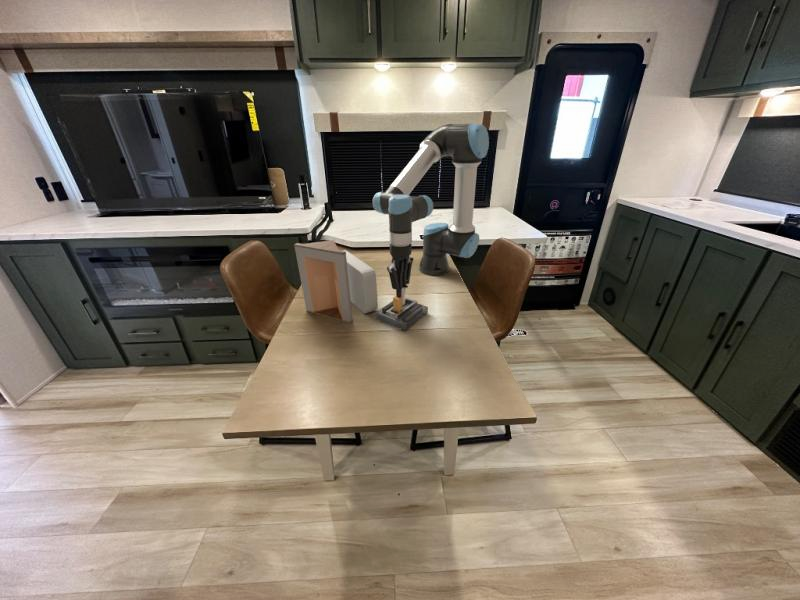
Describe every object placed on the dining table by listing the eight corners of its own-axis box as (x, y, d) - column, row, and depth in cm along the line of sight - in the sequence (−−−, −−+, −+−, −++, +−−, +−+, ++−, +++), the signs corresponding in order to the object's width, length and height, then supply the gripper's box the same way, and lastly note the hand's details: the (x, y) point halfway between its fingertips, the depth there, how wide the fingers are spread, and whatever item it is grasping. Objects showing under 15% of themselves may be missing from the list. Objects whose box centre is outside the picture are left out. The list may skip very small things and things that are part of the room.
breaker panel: (399, 303, 130) (398, 293, 127) (427, 313, 122) (428, 303, 120) (375, 319, 119) (375, 309, 117) (405, 331, 112) (405, 320, 110)
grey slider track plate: (399, 299, 126) (399, 296, 125) (424, 308, 120) (424, 305, 119) (382, 311, 118) (382, 308, 118) (407, 321, 112) (407, 318, 111)
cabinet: (306, 311, 125) (294, 244, 111) (321, 300, 132) (311, 236, 119) (350, 323, 117) (343, 252, 103) (363, 311, 124) (358, 244, 111)
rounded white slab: (383, 310, 125) (381, 269, 116) (366, 316, 121) (363, 273, 112) (351, 284, 146) (348, 247, 137) (336, 288, 142) (331, 250, 133)
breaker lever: (397, 309, 119) (397, 294, 116) (403, 311, 118) (403, 297, 115) (392, 313, 117) (392, 298, 114) (398, 315, 116) (398, 300, 112)
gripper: (402, 236, 112) (403, 294, 124) (379, 246, 103) (382, 307, 115) (420, 240, 108) (418, 299, 120) (397, 250, 99) (398, 313, 111)
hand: (400, 303), depth 117 cm, fingers closed
